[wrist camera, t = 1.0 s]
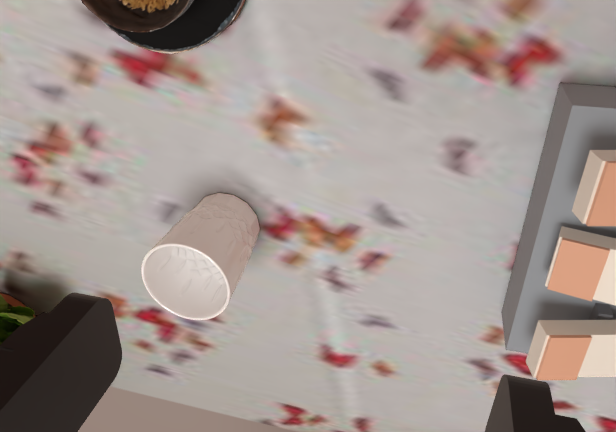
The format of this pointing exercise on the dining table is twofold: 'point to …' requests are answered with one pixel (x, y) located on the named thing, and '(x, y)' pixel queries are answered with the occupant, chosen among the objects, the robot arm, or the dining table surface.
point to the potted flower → (12, 315)
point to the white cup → (202, 257)
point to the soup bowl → (166, 21)
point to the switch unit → (558, 213)
